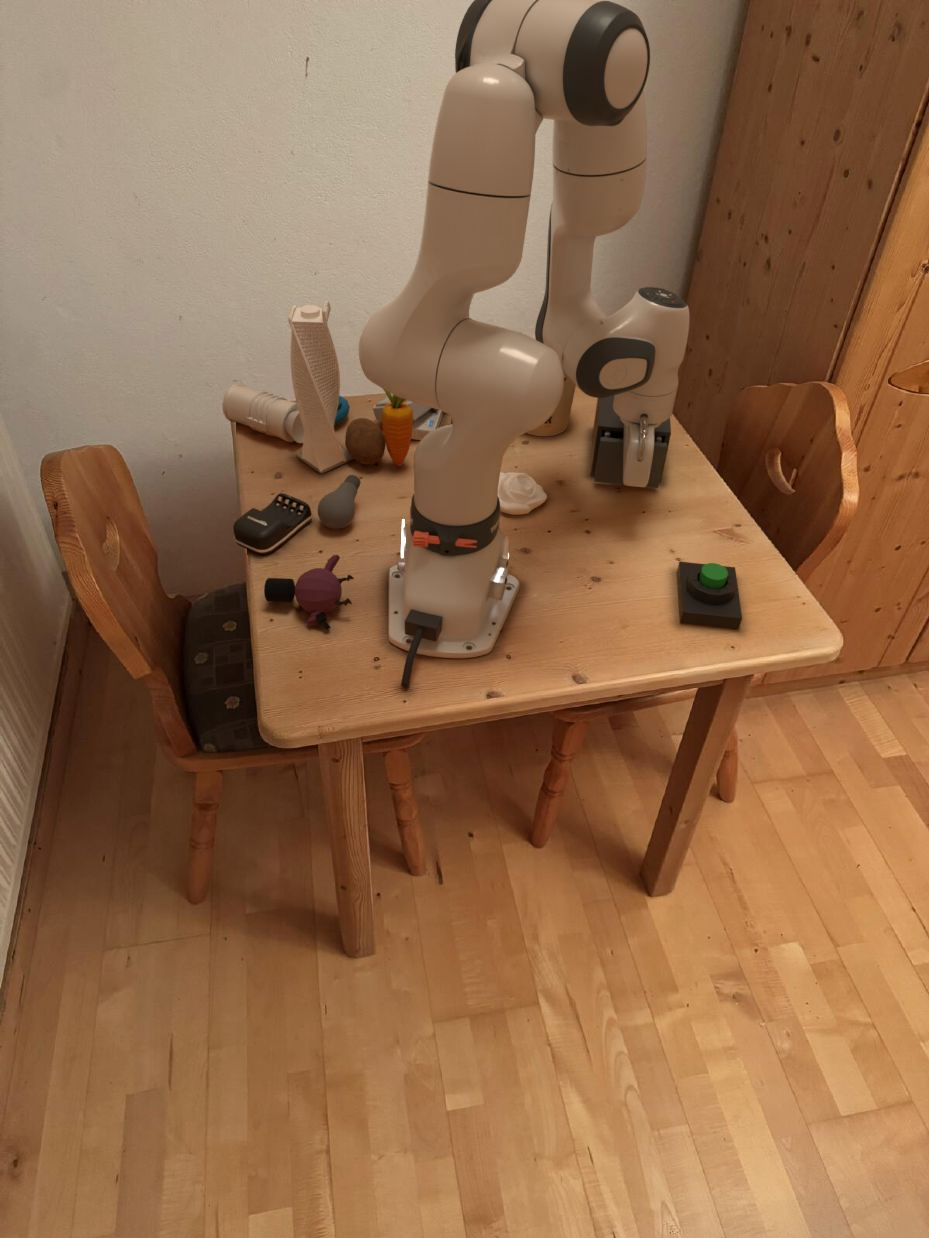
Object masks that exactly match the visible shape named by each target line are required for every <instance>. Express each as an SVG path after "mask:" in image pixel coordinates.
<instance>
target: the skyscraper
mask: <svg viewBox="0 0 929 1238" xmlns="http://www.w3.org/2000/svg"><path fill="white" fill-rule="evenodd" d="M326 307H327V308H326ZM331 310H332V307H331V304H330V302H329V300H327V299H326V300H325V301H324V302H323V303H322V307H320V306H317V305H315V304H307V305H303V306H302V307H300V306H299V307H298V306H297V305H296V304H293V305H292V307H291V309H290V311H289V314H288V318H287V319H288V320H287V322H288V324H289V326H290V327H289V328H290V329H291V332H290V371H291V373H290V374H291V382H292V389H293V393H294V398H295V403H297V407H298V411H299V414H300V418H301V421H302V424H303V427H304V430H305V433H304V442H303V443H302V450H301V451H300V452H298V453H295V456H296V458H298V459H299V460H301V461H302V462H304V463H305V464H306V465H308V466H309V467H310V468H312V469H314V470H315V471H316V472H318V473H320V474H321V475H322V474H324V473H327V472H329V471H330V470H331V471H332V470H333V469H335V468H337V467H339V466H342V465H344V464H346V463H349V462H350V461H352V460H356V459H355V458H354V457H353V456H352V455H351V454H350V453H349V452H348V450H347V449H344V448H343V447H341V444H340V441H339V438H338V436H337V434H336V431H335V426H334V423H335V419H336V414H337V409H338V403H339V396H340V391H341V373H340V366H339V361H338V356H337V351H336V348H335V344H334V341H333V337H332V334H331V332H330V329H329V326H328V321H329V317H330V313H331Z"/></svg>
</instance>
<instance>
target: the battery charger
mask: <svg viewBox="0 0 929 1238" xmlns="http://www.w3.org/2000/svg"><path fill="white" fill-rule="evenodd" d="M312 520H313V514H312V510H311V507H310V505H309V504H308V503H307V502H305V500H301V499H299V498H297V497H294V496H291V495H290V494H287V493H284V492H280V493H278V494H277V495H276V496H275V497H273V499H272V501H271V502H270V503H269V504H268V505H267V506H266V507H264V508H263V509H261V510H260V509H257V508H253V507H252V508H250V509H249V510H248V511H246V512H245V513H244V514H242V515H241V516H240V517H238V518H237V519H236V520H235V521H234V523H233V525H232V530H233V539H234V542H235V543H236V544H237V546H240V547H242V548H243V549H245V550H248V551H250V552H251V553H252V552H253V553H255V554H257V555H260V556H261V555H262V556H266V555H268V554H271V553H273V552H274V551H275V550H277V549H278V548H280V547H281V546H283V545H284V544H285V543H286V542H287V541H288V540H290V539H291V538H292V537H293V536H294V535H295V534H297V533H298V532H299V531H300V530H301V529H302V528H304V527H305V526H307V525H308V524H309V523H310V522H312Z"/></svg>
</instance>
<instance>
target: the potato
mask: <svg viewBox="0 0 929 1238" xmlns="http://www.w3.org/2000/svg"><path fill="white" fill-rule="evenodd" d="M344 438H345V439H344V447H345V448H346V451H347V452H349V453H350V454H351V455H352V456H353V457H354V458H355V459H354V460H356V461H357V462H358V463H360V464H363V465H374V464H376V463H377V462H380V461H381V459H382V458H383V456H384V454H385V451H386V443H385V439H384V435H383V432H382V428H380V427H379V425H378V424H376V423H375V422H374V421H373V420H371V419H369V418H367V417H359V418H358V417H357V418H354V419H353V420H352V421H350V423H349V424H348V426H347V427H346V431H345V436H344Z"/></svg>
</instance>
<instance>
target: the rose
mask: <svg viewBox="0 0 929 1238" xmlns="http://www.w3.org/2000/svg"><path fill="white" fill-rule="evenodd" d="M498 498H499V500H500V509H501V513H504V514H508V515H513V516H514V515H515V516H516V515H517V516H518V515H519V516H520V515H527V514H529V513H530V512H531V511H532V510H534V509H535V508H538V507H540V506H542V504H544V503H545V502H546V500H547V499H548V495H547V493H546V492H544V488H543V487H542V486H541V485H540V484H537V482H536V481H535V479H534V478H533V477H532V476H530V475H528V474H527V473H525V472H513V471H509V472H503V471H500V477H499V485H498Z"/></svg>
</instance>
